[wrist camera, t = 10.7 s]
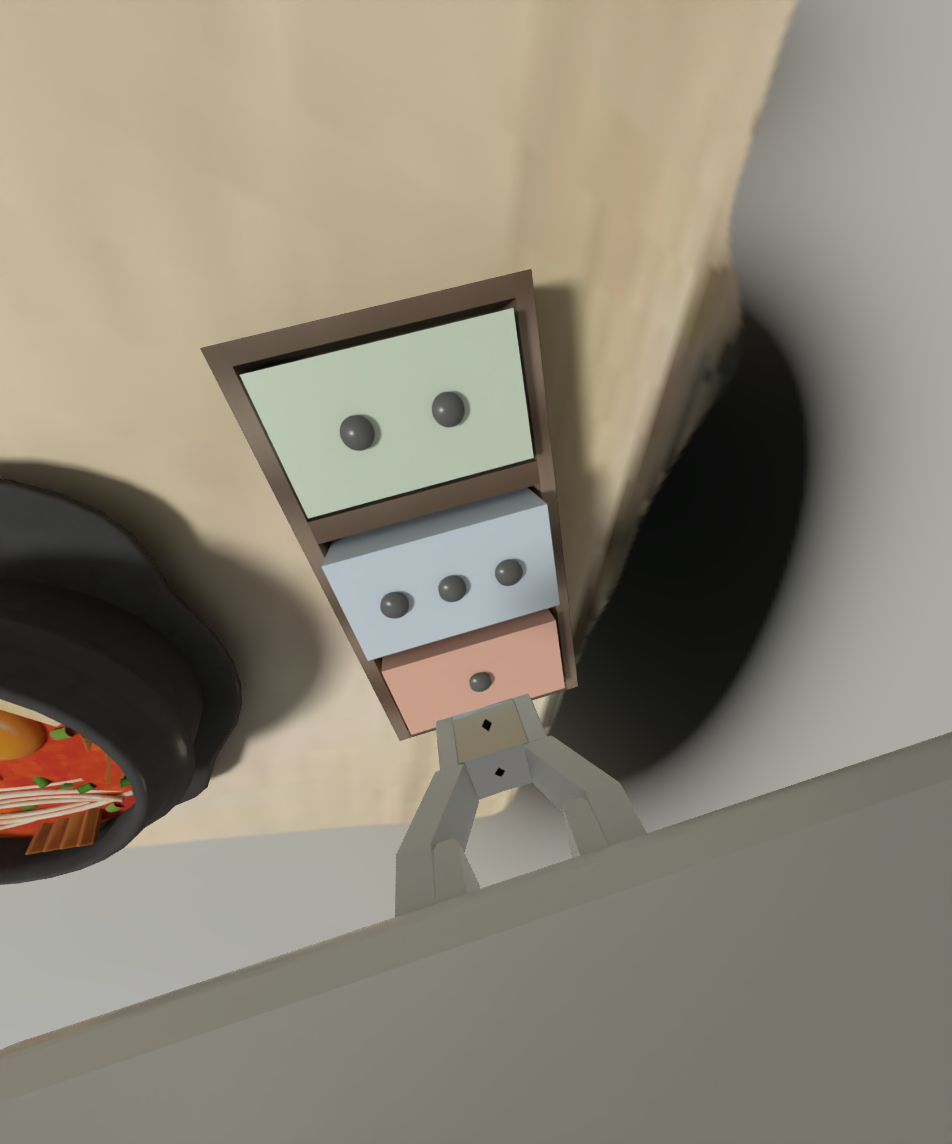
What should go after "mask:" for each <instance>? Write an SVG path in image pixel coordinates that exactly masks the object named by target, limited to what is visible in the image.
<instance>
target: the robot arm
mask: <svg viewBox="0 0 952 1144" xmlns="http://www.w3.org/2000/svg"><path fill="white" fill-rule="evenodd" d="M436 733H437V743H438V753H439V764H440V771H437V772H435V774H434V776H433V778H432V780H431V782H430V785H429V787H428V789H427V791H426V793H425V795H424V797H423V799H422V801H421V804H420V806H419V808H418V810H417V812H416V814H415V816H414V818H413V820H412V823H411V825H410V827H409V829H408V831H407V833H406V835H405V837H404V839H403V842H402V844H401V846H400V848H399V850H398V852H397V854H396V897H395V917H394V918H391V919H389V920H385V921H382V922H379V923H377V924H373V925H370V926H367V927H364V928H361V929H358V930H355V931H352V932H349V933H346V934H343V935H340V936H337V937H334V938H332V939H328V940H326V941H322V942H319V943H316V944H313V945H310V946H307V947H304V948H301V949H298V950H295V951H292V952H289V953H286V954H283V955H280V956H278V957H274V958H271V959H268V960H265V961H262V962H259V963H256V964H253V965H250V966H247V967H244V968H241V969H239V970H236V971H232V972H229V973H226V974H223V975H220V976H217V977H214V978H212V979H208V980H206V981H203V982H200V983H196V984H193V985H190V986H187V987H184V988H181V989H178V990H175V991H172V992H169V993H166V994H163V995H160V996H157V997H154V998H151V999H148V1000H145V1001H142V1002H139V1003H136V1004H133V1005H130V1006H127V1007H124V1008H121V1009H118V1010H115V1011H112V1012H109V1013H106V1014H103V1015H100V1016H97V1017H94V1018H91V1019H88V1020H85V1021H82V1022H79V1023H76V1024H73V1025H70V1026H67V1027H64V1028H61V1029H58V1030H55V1031H52V1032H49V1033H46V1034H42V1035H40V1036H36V1037H33V1038H30V1039H27V1040H24V1041H21V1042H19V1043H16V1044H13V1045H10V1046H8V1047H6V1048H4V1049H2V1050H0V1144H952V732H950V733H947V734H944V735H941V736H938V737H935V738H932V739H929V740H926V741H923V742H920V743H917V744H914V745H911V746H908V747H905V748H902V749H899V750H896V751H893V752H890V753H887V754H884V755H881V756H878V757H875V758H872V759H869V760H866V761H863V762H860V763H857V764H854V765H851V766H848V767H845V768H842V769H839V770H836V771H833V772H830V773H827V774H824V775H821V776H818V777H815V778H812V779H809V780H806V781H803V782H800V783H797V784H794V785H791V786H788V787H785V788H782V789H779V790H776V791H773V792H770V793H767V794H764V795H761V796H758V797H755V798H752V799H749V800H746V801H743V802H740V803H737V804H734V805H731V806H728V807H725V808H722V809H719V810H716V811H713V812H710V813H707V814H704V815H701V816H698V817H695V818H692V819H689V820H686V821H683V822H680V823H677V824H674V825H671V826H668V827H665V828H662V829H659V830H656V831H653V832H650V833H647V832H646V830H645V829H644V827H643V825H642V823H641V821H640V819H639V818H638V816H637V814H636V812H635V810H634V808H633V806H632V805H631V803H630V801H629V799H628V797H627V795H626V794H625V792H624V790H623V788H622V786H621V785H620V783H619V782H617V781H616V780H615V779H613V778H612V777H610V776H609V775H607V774H606V773H604V772H603V771H602V770H600V769H599V768H597V767H596V766H594V765H593V764H591V763H590V762H589V761H587V760H585V759H584V758H583V757H582V756H580V755H578V754H577V753H576V752H574V751H573V750H571V749H570V748H569V747H567V746H566V745H564V744H563V743H561V742H560V741H559V740H557V739H556V738H554V737H553V736H549V737H547V736H546V734H545V731H544V729H543V726H542V724H541V721H540V719H539V716H538V714H537V712H536V709H535V707H534V704H533V702H532V699H531V697H530V695H529V694H524V695H521V696H518V697H515V698H510V699H507V700H504V701H501V702H498V703H495V704H492V705H489V706H485V707H483V708H481V709H477V710H473V711H470V712H466V713H463V714H459V715H455V716H452V717H449V718H445V719H442V720H438V721H436ZM529 783H533V784H534V785H535V786H536V787H537V788H538V789H539V790H540V791H542V793H543V794H544V795H546V796H547V797H548V798H549V799H550V800H551V801H552V802H553V803H554V804H555V805H556V806H557V807H558V808H559V809H560V810H561V811H562V812H563V813H564V815H565V821H566V826H567V832H568V837H569V843H570V849H571V854H572V857H573V858H572V859H568V860H565V861H563V862H560V863H557V864H553V865H550V866H547V867H544V868H541V869H538V870H535V871H533V872H530V873H526V874H524V875H520V876H518V877H514V878H511V879H509V880H506V881H502V882H499V883H496V884H493V885H491V886H487V887H484V888H482V889H480V885H479V883H478V881H477V879H476V877H475V874H474V872H473V871H472V868H471V866H470V864H469V862H468V860H467V858H466V856H465V854H464V852H465V849H466V845H467V841H468V838H469V834H470V831H471V828H472V824H473V821H474V817H475V814H476V810H477V807H478V803H479V801H478V800H479V799H482V798H485V797H488V796H491V795H494V794H496V793H499V792H502V791H505V790H508V789H512V788H515V787H519V786H522V785H526V784H529Z"/></svg>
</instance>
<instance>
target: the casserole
mask: <svg viewBox="0 0 952 1144" xmlns="http://www.w3.org/2000/svg"><path fill="white" fill-rule="evenodd" d="M241 706H242V697H241V682H240V680H239V677H238V674H237V671H236V668H235V665H234V662H233V660H232V659H231V657H230V656H229V654H228V652H227V651H226V649H225V648H224V646H223V645H222V643H221V642H220V640H219V638H218V637H217V636H216V635H215V634H214V633H213V632H212V631H211V630H210V629H209V628H208V627H207V626H206V625H205V624H204V623H203V622H202V621H201V620H200V619H199V618H198V617H197V616H196V615H195V614H194V613H193V612H192V611H191V610H190V609H189V608H188V607H187V606H186V605H185V604H184V603H183V602H182V601H181V600H180V599H179V598H178V597H177V596H176V595H175V594H174V593H173V592H172V590H171V589H170V587H169V586H168V584H167V583H166V581H165V580H164V578H163V577H162V575H161V574H160V572H159V571H158V569H157V568H156V566H155V565H154V563H153V562H152V560H151V559H150V558H149V556H148V555H147V554H146V552H145V551H144V550H143V548H142V547H141V546H140V544H139V543H138V542H137V540H136V539H135V538H134V536H133V535H132V534H131V533H130V532H128V531H127V530H126V529H124V528H123V527H122V526H120V525H119V524H118V523H116V522H115V521H114V520H112V519H111V518H109V517H108V516H107V515H105V514H104V513H103V512H101V511H99V510H97V509H94V508H92V507H90V506H87V505H85V504H83V503H81V502H78V501H76V500H74V499H71V498H69V497H67V496H65V495H62V494H59V493H55V492H52V491H48V490H45V489H41V488H38V487H34V486H30V485H27V484H23V483H20V482H16V481H12V480H6V479H0V885H2V884H16V883H22V882H29V881H35V880H40V879H47V878H52V877H55V876H59V875H63V874H67V873H70V872H74V871H77V870H81V869H83V868H86V867H88V866H90V865H93V864H95V863H98V862H100V861H102V860H105V859H106V858H108V857H110V856H111V855H113V854H115V853H116V852H118V851H119V850H121V849H123V848H124V847H125V846H126V845H128V844H129V843H130V842H131V841H132V840H133V839H134V838H135V837H136V836H137V835H138V834H139V833H140V832H141V831H142V830H143V829H144V828H145V827H147V826H148V825H150V824H152V823H153V822H155V821H156V820H158V819H160V818H161V817H163V816H165V815H166V814H167V813H168V812H169V811H170V810H171V809H172V808H173V807H174V806H176V805H178V804H181V803H183V802H185V801H188V800H190V799H192V798H195V797H196V796H198V795H199V794H200V793H201V792H202V791H203V790H205V789H206V788H207V787H208V784H209V780H210V777H211V773H212V770H213V766H214V763H215V759H216V756H217V754H218V753H219V751H220V750H221V748H222V746H223V745H224V743H225V742H226V740H227V739H228V737H229V735H230V734H231V732H232V730H233V729H234V727H235V726H236V724H237V721H238V717H239V713H240V710H241Z"/></svg>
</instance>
